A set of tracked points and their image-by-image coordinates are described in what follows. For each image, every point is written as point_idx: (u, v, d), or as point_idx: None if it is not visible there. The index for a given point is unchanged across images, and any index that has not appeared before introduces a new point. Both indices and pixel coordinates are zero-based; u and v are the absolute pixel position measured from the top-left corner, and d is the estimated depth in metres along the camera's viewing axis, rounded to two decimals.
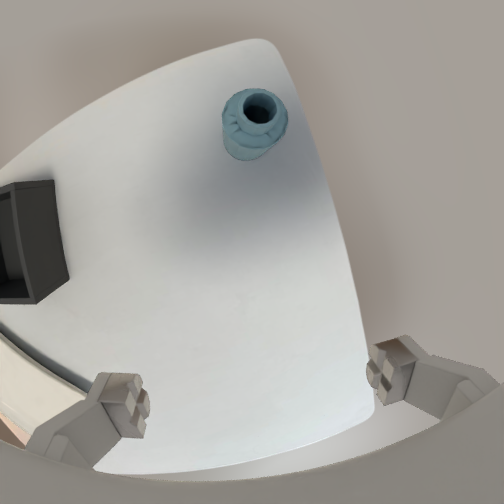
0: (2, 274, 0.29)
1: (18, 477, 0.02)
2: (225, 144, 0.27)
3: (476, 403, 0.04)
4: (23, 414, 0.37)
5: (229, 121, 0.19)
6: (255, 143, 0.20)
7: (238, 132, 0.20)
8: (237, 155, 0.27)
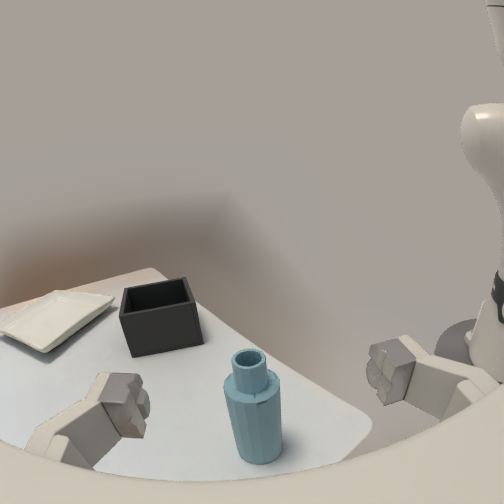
0: None
1: (18, 477, 0.02)
2: None
3: (476, 403, 0.04)
4: (40, 311, 0.60)
5: None
6: (229, 388, 0.23)
7: (235, 378, 0.24)
8: None
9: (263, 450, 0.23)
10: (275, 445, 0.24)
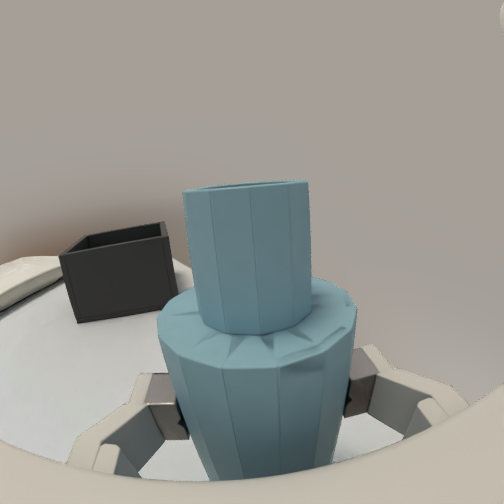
0: None
1: (18, 477, 0.02)
2: None
3: (476, 403, 0.04)
4: None
5: None
6: (175, 319, 0.07)
7: None
8: None
9: None
10: None
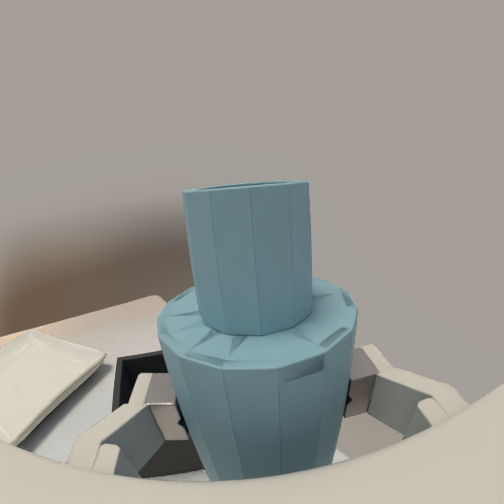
0: None
1: (18, 477, 0.02)
2: None
3: (476, 403, 0.04)
4: (10, 362, 0.37)
5: None
6: (175, 320, 0.07)
7: None
8: None
9: None
10: None
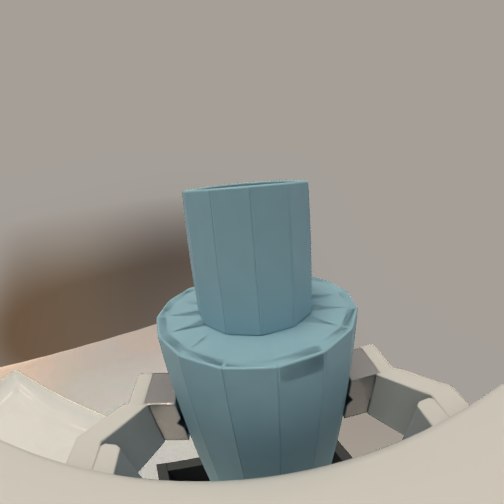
0: None
1: (18, 477, 0.02)
2: None
3: (476, 403, 0.04)
4: None
5: None
6: (174, 320, 0.07)
7: None
8: None
9: None
10: None
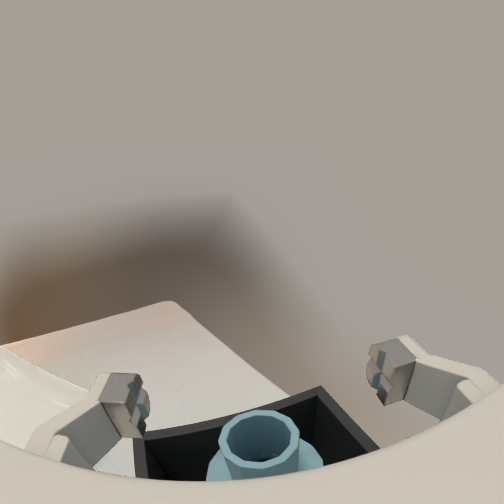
0: None
1: (18, 477, 0.02)
2: None
3: (476, 403, 0.04)
4: None
5: None
6: None
7: None
8: None
9: None
10: None
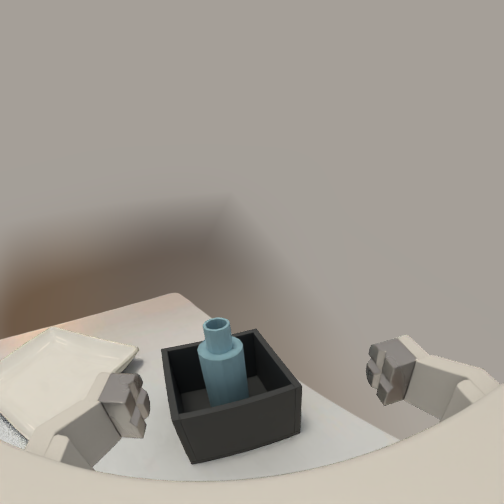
0: (186, 386, 0.36)
1: (18, 477, 0.02)
2: None
3: (476, 403, 0.04)
4: (33, 359, 0.40)
5: None
6: (201, 350, 0.29)
7: None
8: None
9: None
10: None
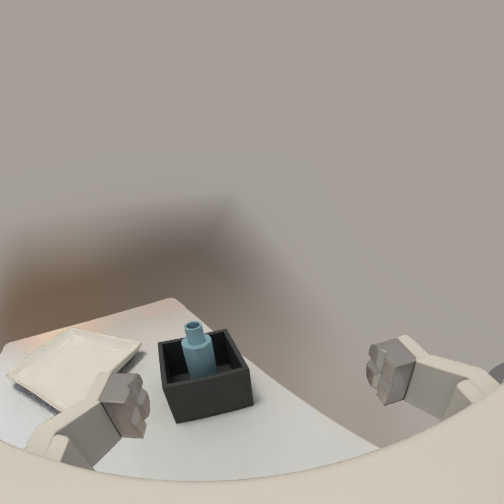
0: (176, 370, 0.51)
1: (18, 477, 0.02)
2: None
3: (476, 403, 0.04)
4: (56, 354, 0.55)
5: None
6: (184, 342, 0.43)
7: None
8: None
9: None
10: None
